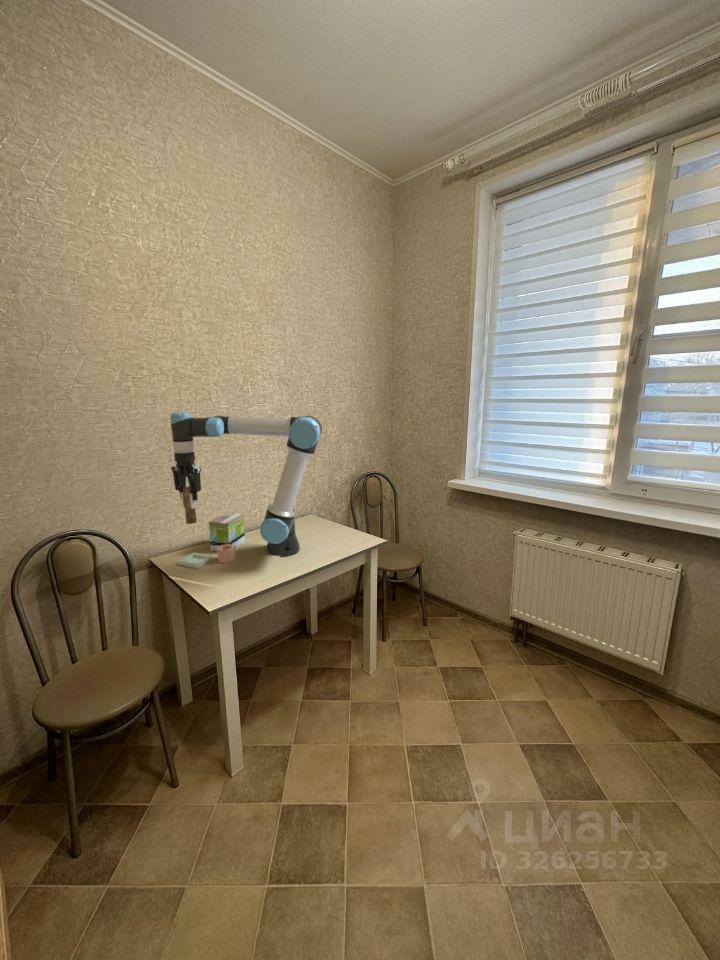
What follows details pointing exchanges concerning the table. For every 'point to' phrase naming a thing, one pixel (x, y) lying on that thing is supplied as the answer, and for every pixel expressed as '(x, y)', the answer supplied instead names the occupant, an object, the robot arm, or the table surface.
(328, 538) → the table surface
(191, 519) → the dowel
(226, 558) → the cup
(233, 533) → the tea box
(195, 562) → the tray
